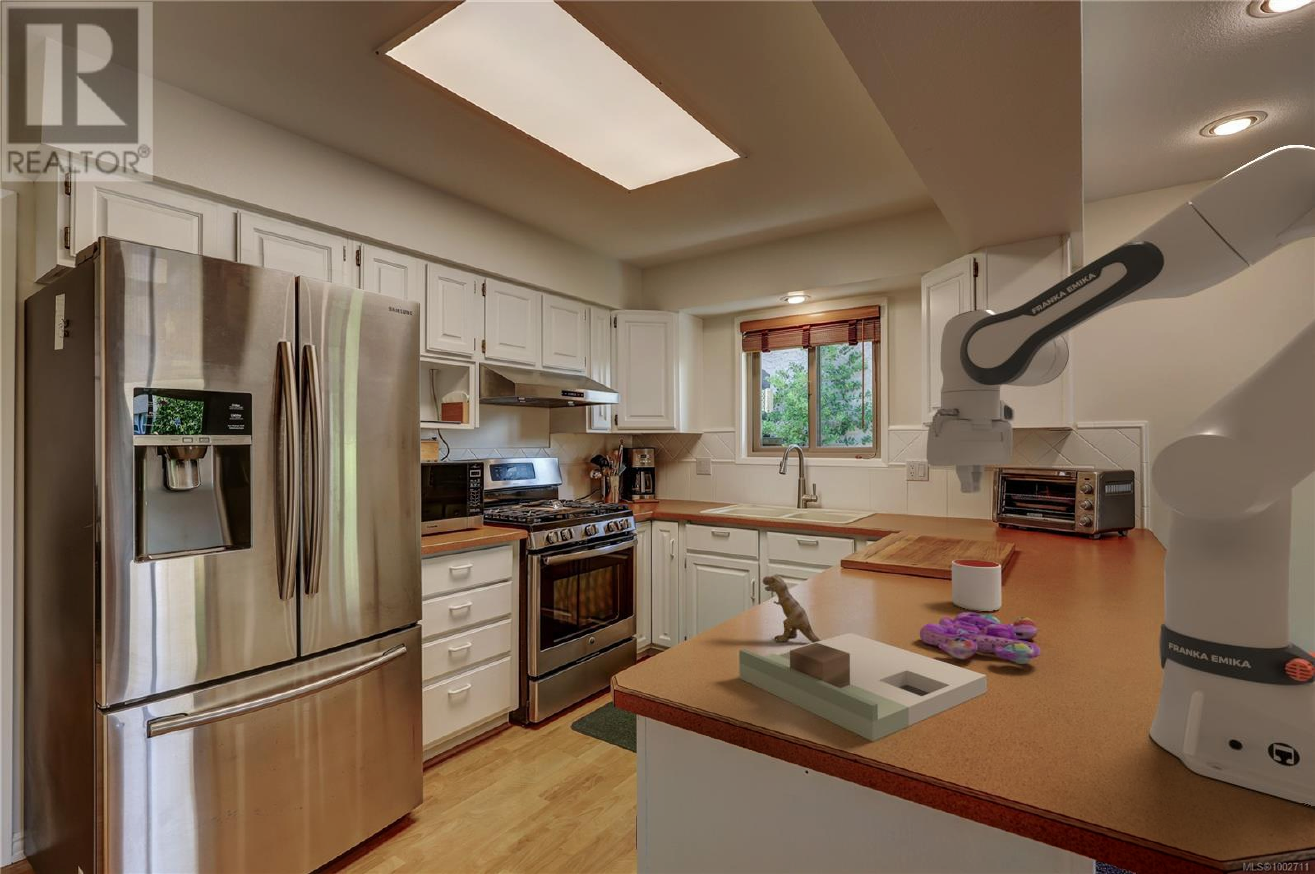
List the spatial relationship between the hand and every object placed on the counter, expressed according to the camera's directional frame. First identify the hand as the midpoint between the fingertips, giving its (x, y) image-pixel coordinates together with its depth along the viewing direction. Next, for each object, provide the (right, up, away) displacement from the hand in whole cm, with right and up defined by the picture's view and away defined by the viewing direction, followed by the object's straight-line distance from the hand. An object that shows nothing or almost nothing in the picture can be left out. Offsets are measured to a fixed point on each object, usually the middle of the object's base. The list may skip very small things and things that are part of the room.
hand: (970, 492), depth 101 cm
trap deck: (-21, -29, -7) cm, 37 cm away
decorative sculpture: (+8, -30, +11) cm, 33 cm away
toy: (-25, -30, +14) cm, 41 cm away
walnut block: (-29, -27, -13) cm, 41 cm away
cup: (+21, -30, +37) cm, 52 cm away
